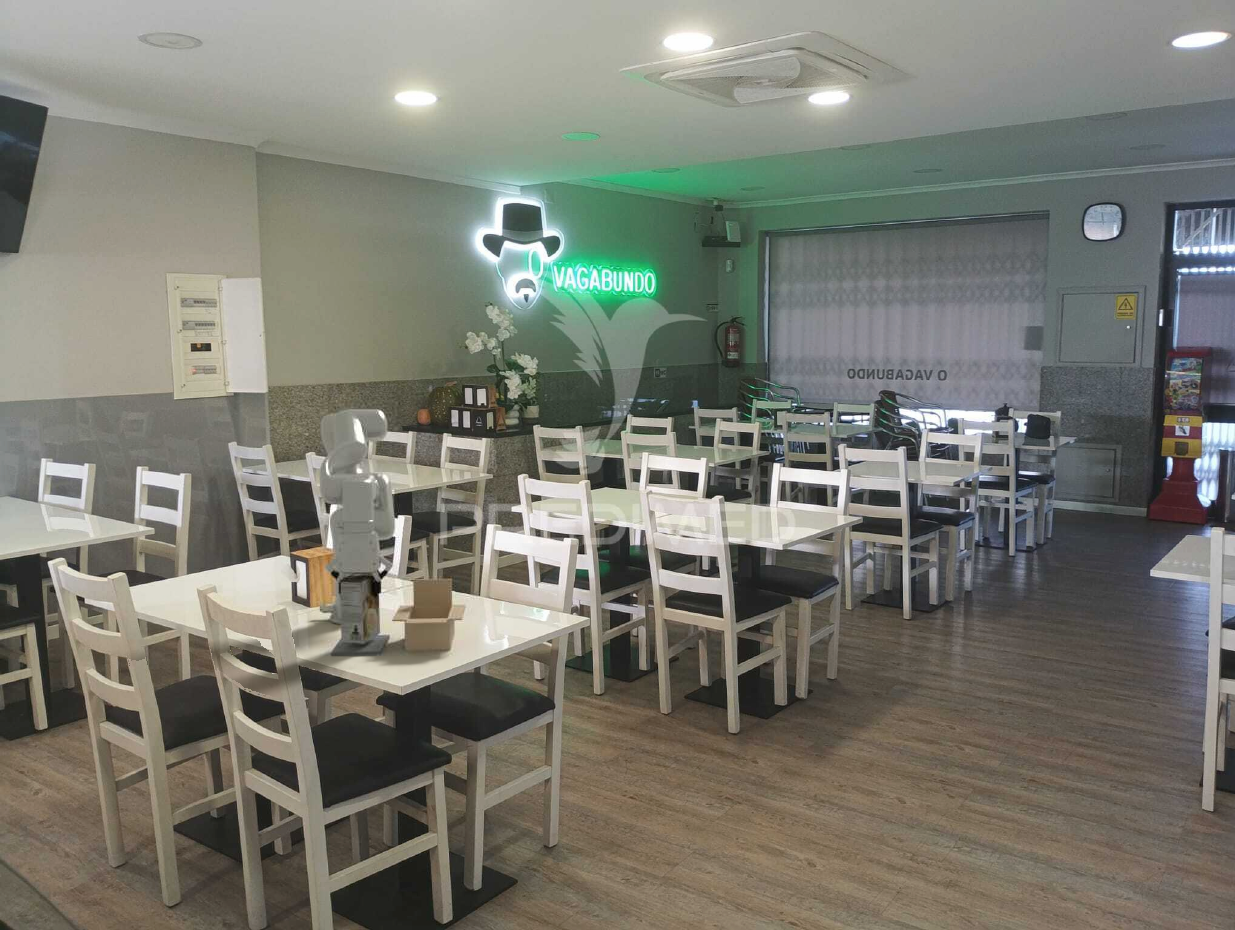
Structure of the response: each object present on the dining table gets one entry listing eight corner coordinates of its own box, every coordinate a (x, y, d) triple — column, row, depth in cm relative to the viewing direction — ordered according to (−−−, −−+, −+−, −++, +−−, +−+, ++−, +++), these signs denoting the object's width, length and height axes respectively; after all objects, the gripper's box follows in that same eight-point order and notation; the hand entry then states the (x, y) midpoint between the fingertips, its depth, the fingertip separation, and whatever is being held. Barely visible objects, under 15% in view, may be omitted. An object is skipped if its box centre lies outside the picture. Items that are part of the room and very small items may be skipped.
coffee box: (357, 632, 244) (356, 571, 242) (380, 633, 243) (379, 572, 241) (340, 642, 235) (339, 579, 233) (364, 644, 234) (363, 580, 232)
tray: (331, 655, 231) (331, 651, 231) (342, 639, 245) (342, 635, 245) (381, 654, 233) (381, 650, 232) (389, 638, 246) (389, 634, 246)
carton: (390, 654, 233) (389, 595, 231) (400, 635, 250) (399, 579, 248) (461, 653, 234) (460, 594, 233) (466, 633, 251) (465, 578, 250)
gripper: (319, 530, 231) (321, 600, 233) (391, 529, 233) (393, 599, 235) (326, 524, 239) (328, 593, 241) (396, 524, 240) (397, 592, 242)
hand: (360, 595), depth 238 cm, fingers closed on coffee box, 7 cm apart
